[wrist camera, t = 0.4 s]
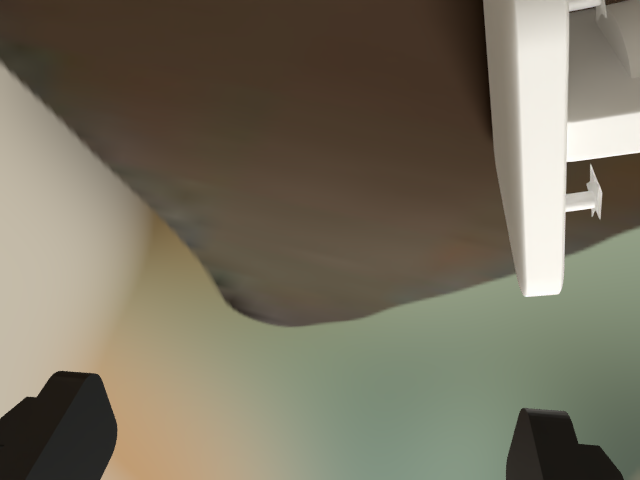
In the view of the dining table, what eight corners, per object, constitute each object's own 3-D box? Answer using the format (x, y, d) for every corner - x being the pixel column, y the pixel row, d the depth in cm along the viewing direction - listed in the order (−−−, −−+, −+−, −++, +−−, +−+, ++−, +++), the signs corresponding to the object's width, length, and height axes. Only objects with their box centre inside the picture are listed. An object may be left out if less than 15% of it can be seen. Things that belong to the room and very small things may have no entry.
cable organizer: (469, -136, 23) (502, -62, 15) (768, -218, 20) (1024, -186, 12) (492, 164, 33) (520, 317, 24) (700, 135, 30) (815, 297, 21)
